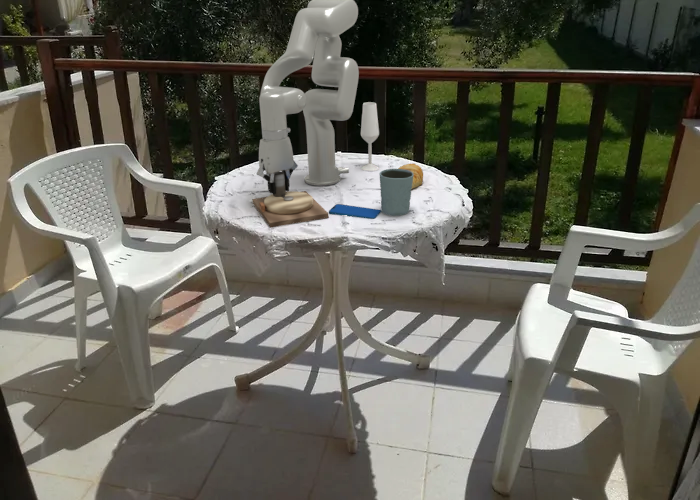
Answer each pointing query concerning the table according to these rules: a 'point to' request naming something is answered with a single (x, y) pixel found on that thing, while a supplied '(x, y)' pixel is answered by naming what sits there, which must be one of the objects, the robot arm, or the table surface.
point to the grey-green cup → (395, 191)
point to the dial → (287, 198)
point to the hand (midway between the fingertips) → (279, 191)
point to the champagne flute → (369, 131)
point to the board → (286, 219)
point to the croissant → (417, 174)
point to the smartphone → (354, 211)
